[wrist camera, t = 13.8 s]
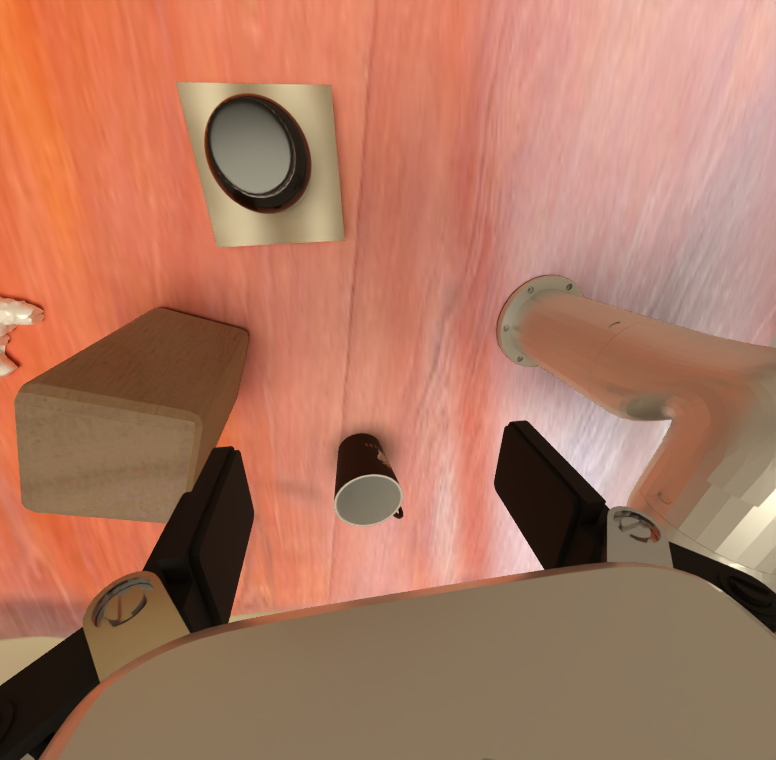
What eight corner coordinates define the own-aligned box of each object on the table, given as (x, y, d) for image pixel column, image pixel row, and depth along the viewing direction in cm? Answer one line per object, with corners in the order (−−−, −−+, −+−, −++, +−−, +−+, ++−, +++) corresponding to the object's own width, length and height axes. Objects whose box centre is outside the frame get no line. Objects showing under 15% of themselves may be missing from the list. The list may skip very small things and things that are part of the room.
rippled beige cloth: (329, 99, 31) (331, 85, 28) (342, 238, 37) (344, 240, 33) (192, 98, 29) (175, 82, 26) (227, 244, 35) (217, 247, 31)
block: (155, 302, 36) (2, 387, 18) (252, 328, 39) (200, 421, 22) (147, 382, 40) (13, 517, 22) (237, 400, 43) (182, 530, 25)
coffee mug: (322, 437, 48) (324, 487, 39) (380, 419, 48) (395, 465, 39) (345, 493, 53) (351, 548, 44) (397, 477, 54) (413, 528, 45)
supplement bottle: (234, 208, 30) (190, 205, 20) (227, 115, 27) (172, 54, 17) (311, 218, 32) (309, 220, 21) (313, 131, 29) (311, 84, 18)
